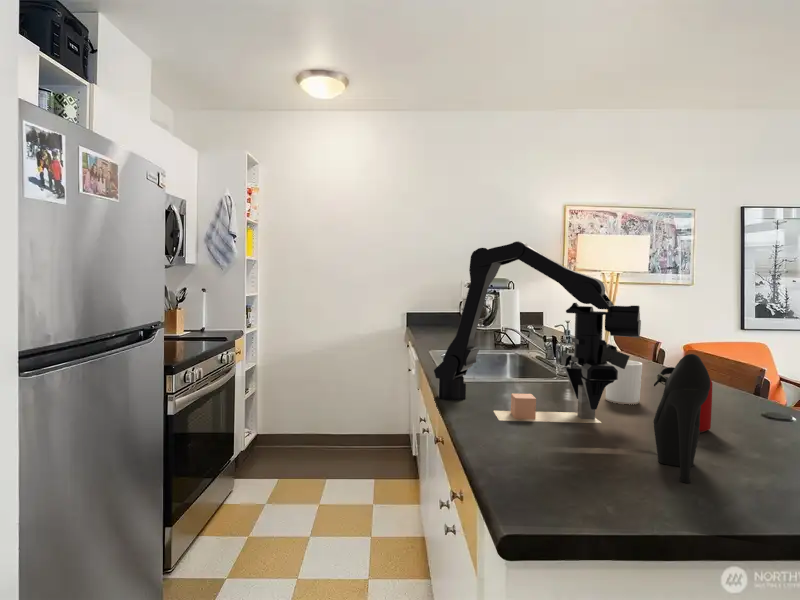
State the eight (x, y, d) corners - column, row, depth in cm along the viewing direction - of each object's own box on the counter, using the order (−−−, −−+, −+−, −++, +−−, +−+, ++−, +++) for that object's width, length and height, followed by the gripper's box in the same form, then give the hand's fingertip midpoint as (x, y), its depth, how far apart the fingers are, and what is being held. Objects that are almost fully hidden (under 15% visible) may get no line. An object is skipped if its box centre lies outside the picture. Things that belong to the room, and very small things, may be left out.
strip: (498, 424, 106) (499, 388, 105) (493, 413, 114) (493, 380, 113) (601, 426, 105) (603, 390, 105) (588, 416, 113) (589, 382, 113)
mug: (649, 404, 125) (650, 364, 125) (620, 406, 123) (621, 365, 122) (618, 394, 136) (619, 357, 136) (591, 396, 133) (592, 358, 133)
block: (514, 418, 107) (515, 398, 107) (510, 412, 112) (511, 393, 111) (535, 418, 107) (536, 398, 107) (530, 413, 111) (531, 393, 111)
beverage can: (708, 427, 106) (710, 372, 105) (713, 435, 100) (715, 377, 99) (672, 422, 109) (674, 369, 108) (675, 430, 103) (677, 374, 102)
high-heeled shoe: (688, 450, 90) (693, 343, 90) (718, 492, 72) (724, 358, 72) (641, 445, 93) (645, 341, 92) (658, 484, 75) (663, 354, 74)
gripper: (645, 340, 99) (642, 416, 99) (608, 330, 117) (606, 395, 118) (589, 339, 99) (586, 415, 100) (561, 329, 118) (559, 394, 118)
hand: (586, 404), depth 109 cm, fingers open, 9 cm apart
